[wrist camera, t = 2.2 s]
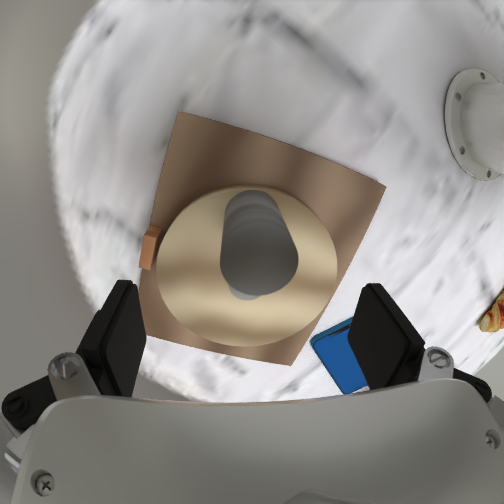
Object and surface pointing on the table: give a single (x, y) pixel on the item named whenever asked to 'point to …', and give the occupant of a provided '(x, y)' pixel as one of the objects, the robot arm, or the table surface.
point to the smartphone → (339, 357)
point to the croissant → (494, 317)
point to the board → (260, 173)
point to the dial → (246, 265)
